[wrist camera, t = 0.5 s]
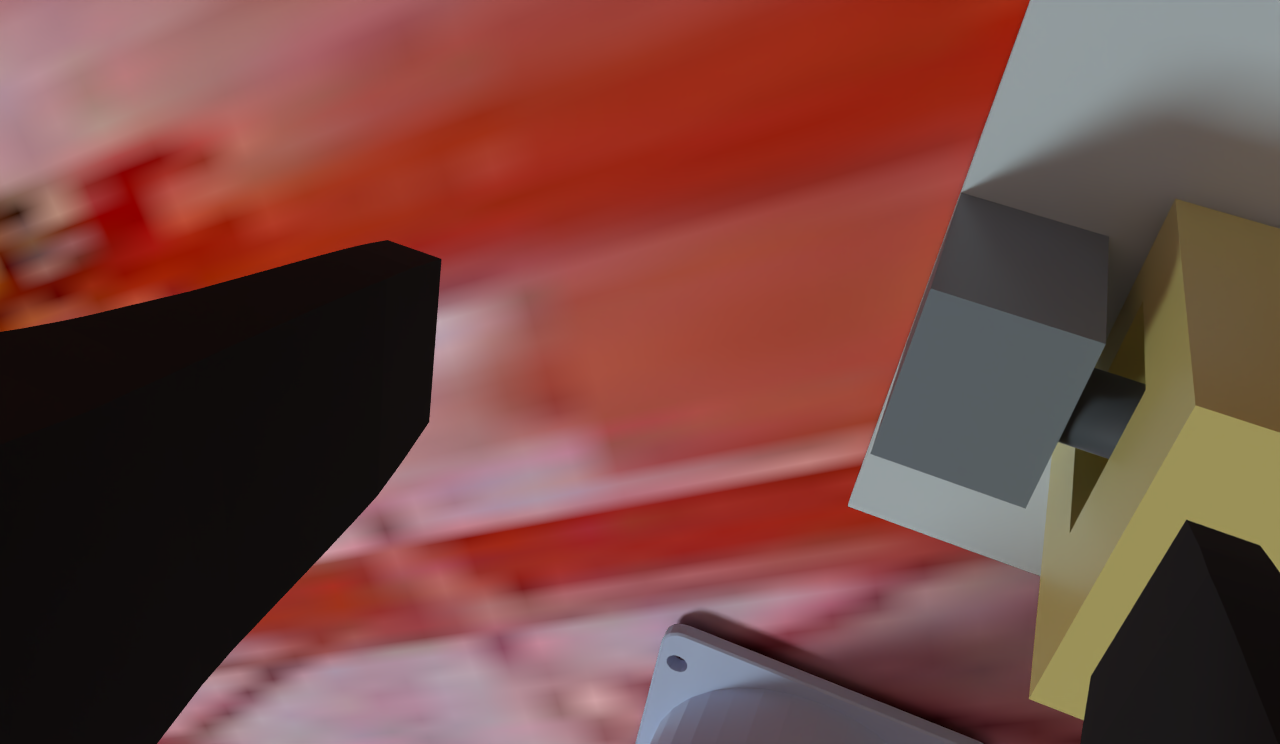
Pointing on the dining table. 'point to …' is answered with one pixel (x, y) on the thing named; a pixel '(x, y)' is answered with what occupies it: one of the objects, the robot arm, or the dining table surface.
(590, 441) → the dining table surface
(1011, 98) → the grey board with rod
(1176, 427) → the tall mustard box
